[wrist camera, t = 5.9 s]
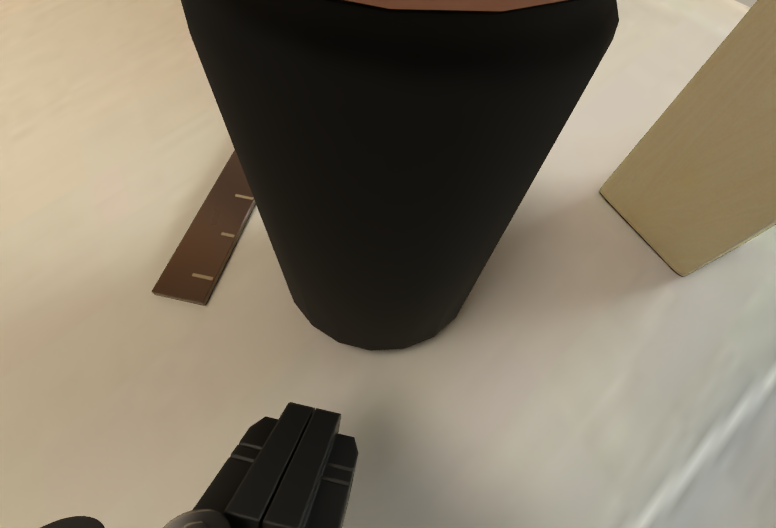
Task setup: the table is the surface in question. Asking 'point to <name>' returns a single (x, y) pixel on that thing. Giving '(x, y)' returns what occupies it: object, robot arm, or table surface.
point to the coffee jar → (393, 139)
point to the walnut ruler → (209, 238)
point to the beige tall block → (709, 154)
